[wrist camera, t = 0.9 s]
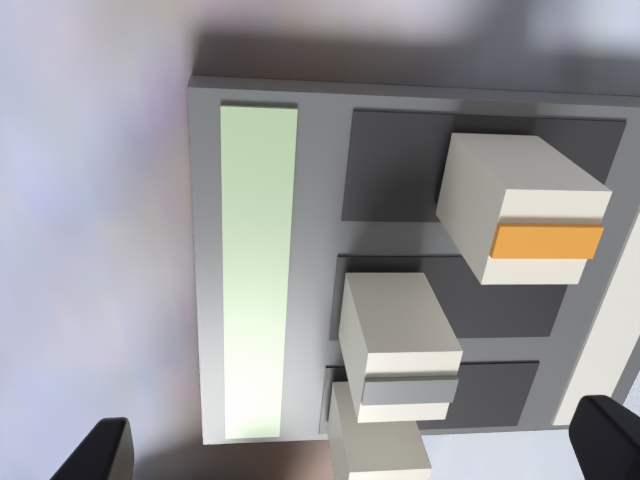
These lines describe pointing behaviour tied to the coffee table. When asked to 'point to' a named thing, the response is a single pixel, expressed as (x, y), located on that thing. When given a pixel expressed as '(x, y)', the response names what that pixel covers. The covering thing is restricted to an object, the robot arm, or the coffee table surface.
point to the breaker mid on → (397, 348)
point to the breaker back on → (373, 444)
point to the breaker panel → (393, 250)
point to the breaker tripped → (520, 209)
